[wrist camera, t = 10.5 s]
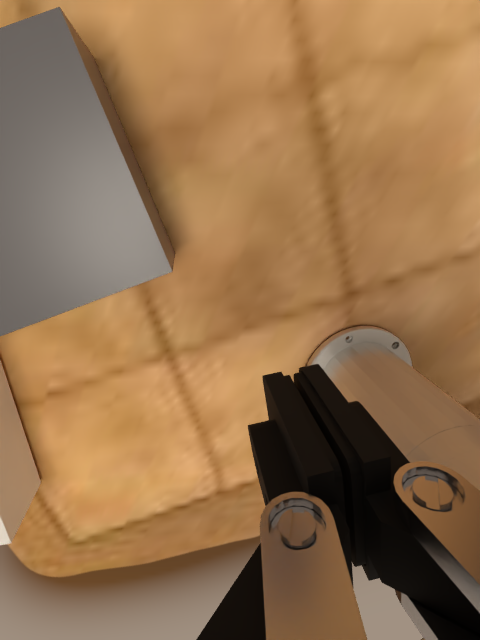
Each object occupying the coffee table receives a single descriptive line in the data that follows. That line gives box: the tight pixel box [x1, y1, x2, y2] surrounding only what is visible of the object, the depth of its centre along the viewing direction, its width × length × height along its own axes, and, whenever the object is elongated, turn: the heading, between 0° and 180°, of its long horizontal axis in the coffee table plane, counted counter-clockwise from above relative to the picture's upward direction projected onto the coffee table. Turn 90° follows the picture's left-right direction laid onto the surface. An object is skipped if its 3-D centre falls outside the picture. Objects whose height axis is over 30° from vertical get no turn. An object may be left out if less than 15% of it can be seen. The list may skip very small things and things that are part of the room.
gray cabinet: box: [0, 7, 175, 336], centre depth 26 cm, size 16×20×8 cm
